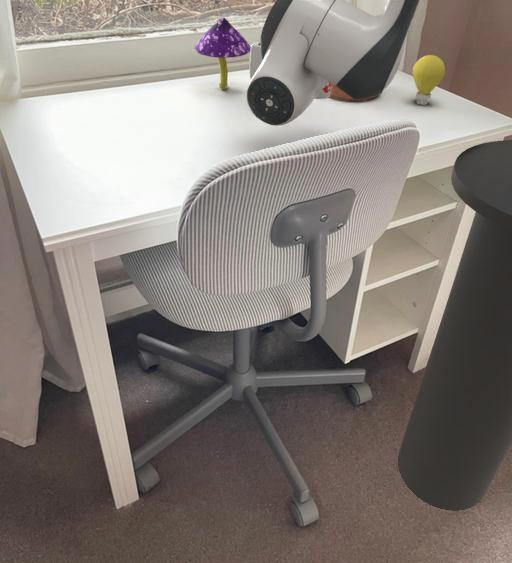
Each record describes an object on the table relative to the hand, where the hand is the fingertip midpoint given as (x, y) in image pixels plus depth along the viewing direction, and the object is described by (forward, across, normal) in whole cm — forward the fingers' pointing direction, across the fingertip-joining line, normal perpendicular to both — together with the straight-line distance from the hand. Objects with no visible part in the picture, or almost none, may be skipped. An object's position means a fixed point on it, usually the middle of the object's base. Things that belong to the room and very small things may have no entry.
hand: (322, 49), depth 95 cm
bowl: (+26, -1, +15) cm, 30 cm away
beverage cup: (-1, 0, +8) cm, 8 cm away
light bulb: (+26, -18, +16) cm, 35 cm away
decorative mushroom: (+17, +26, +15) cm, 35 cm away
